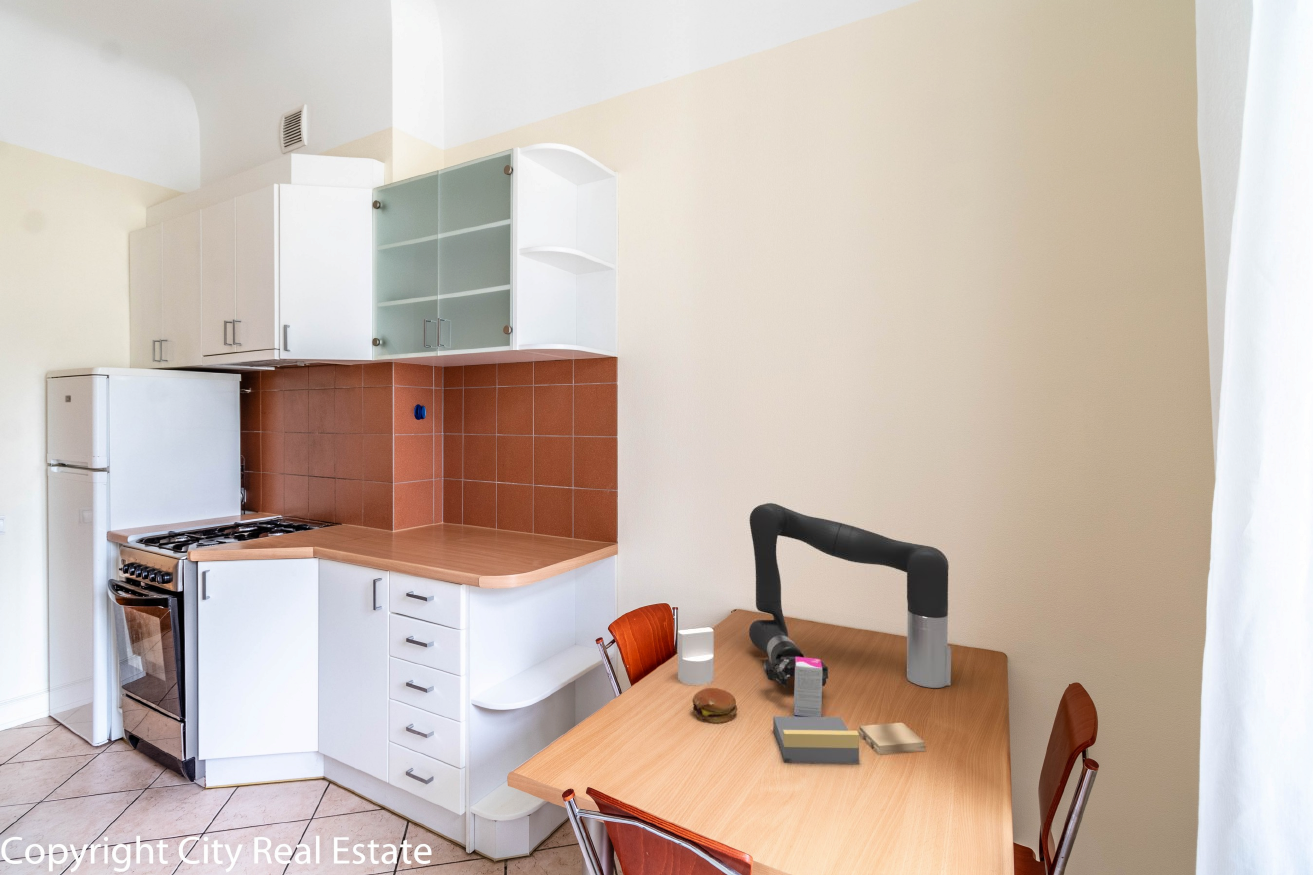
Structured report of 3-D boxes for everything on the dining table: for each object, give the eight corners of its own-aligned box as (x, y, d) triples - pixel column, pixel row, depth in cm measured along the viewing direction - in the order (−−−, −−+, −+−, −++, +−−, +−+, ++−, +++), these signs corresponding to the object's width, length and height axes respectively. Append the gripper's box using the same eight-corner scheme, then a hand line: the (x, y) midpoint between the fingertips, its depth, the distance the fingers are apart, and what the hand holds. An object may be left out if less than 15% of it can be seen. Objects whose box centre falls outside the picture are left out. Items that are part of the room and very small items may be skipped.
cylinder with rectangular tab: (705, 668, 157) (705, 623, 156) (719, 682, 148) (719, 634, 148) (672, 673, 154) (673, 626, 154) (685, 687, 145) (685, 638, 145)
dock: (840, 731, 124) (840, 705, 124) (858, 763, 112) (859, 734, 112) (773, 730, 125) (773, 704, 125) (784, 762, 113) (784, 733, 113)
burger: (731, 703, 137) (731, 683, 137) (741, 723, 128) (741, 701, 128) (689, 705, 136) (689, 684, 136) (695, 725, 127) (695, 703, 127)
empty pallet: (903, 731, 125) (903, 722, 125) (925, 751, 117) (925, 741, 117) (858, 735, 123) (858, 725, 123) (878, 755, 116) (878, 745, 116)
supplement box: (822, 720, 129) (822, 667, 129) (794, 717, 130) (794, 665, 130) (820, 708, 135) (820, 657, 135) (793, 705, 136) (793, 655, 136)
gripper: (757, 640, 150) (773, 666, 134) (812, 639, 151) (836, 665, 135) (756, 670, 150) (773, 699, 134) (812, 669, 151) (835, 698, 135)
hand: (804, 682), depth 134 cm, fingers open, 8 cm apart
